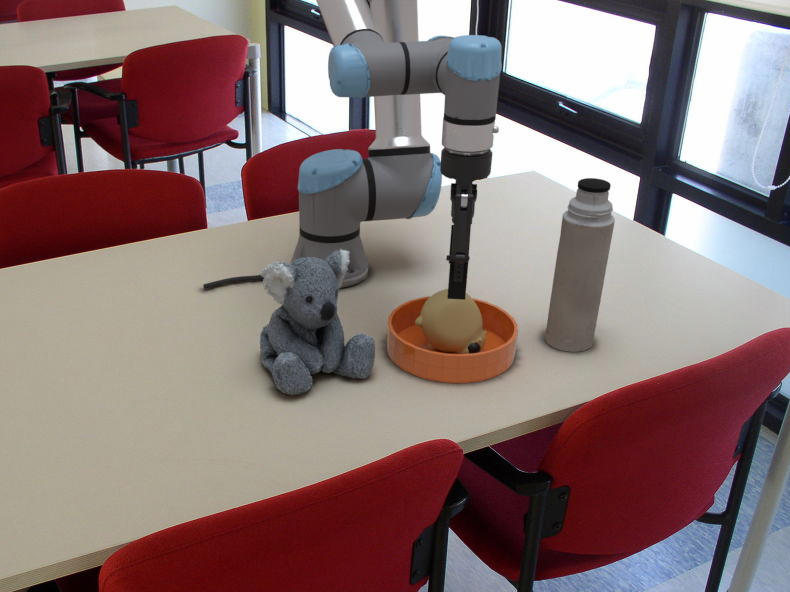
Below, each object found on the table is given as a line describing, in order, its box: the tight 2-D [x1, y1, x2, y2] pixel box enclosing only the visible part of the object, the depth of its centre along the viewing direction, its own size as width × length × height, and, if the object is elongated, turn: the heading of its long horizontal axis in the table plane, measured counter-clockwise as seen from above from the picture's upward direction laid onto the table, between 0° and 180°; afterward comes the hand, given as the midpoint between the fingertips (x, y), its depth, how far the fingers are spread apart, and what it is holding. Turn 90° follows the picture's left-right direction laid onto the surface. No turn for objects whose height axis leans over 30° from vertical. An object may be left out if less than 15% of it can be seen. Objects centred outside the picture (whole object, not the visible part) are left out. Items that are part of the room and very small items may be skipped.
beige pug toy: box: [415, 288, 487, 354], centre depth 149 cm, size 10×12×11 cm
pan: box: [386, 295, 519, 384], centre depth 150 cm, size 21×21×5 cm
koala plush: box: [259, 248, 376, 396], centre depth 142 cm, size 17×18×20 cm
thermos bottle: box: [544, 177, 616, 353], centre depth 147 cm, size 8×8×28 cm
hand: (456, 280), depth 145 cm, fingers open, 13 cm apart
